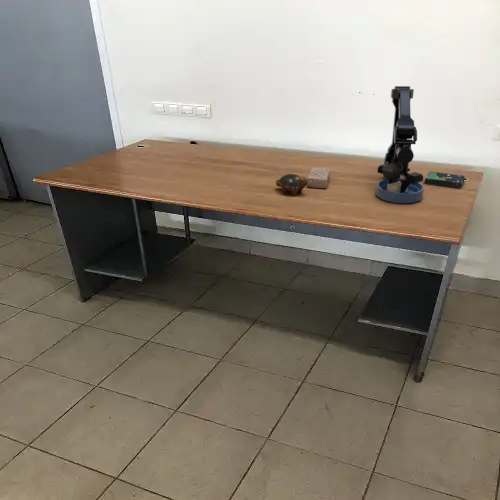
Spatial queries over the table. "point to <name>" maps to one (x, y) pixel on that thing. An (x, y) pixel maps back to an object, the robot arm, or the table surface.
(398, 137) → the robot arm
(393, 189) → the eraser
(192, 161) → the table surface
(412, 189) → the bowl
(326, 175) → the brick
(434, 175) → the disk drive
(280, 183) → the decorative turtle
